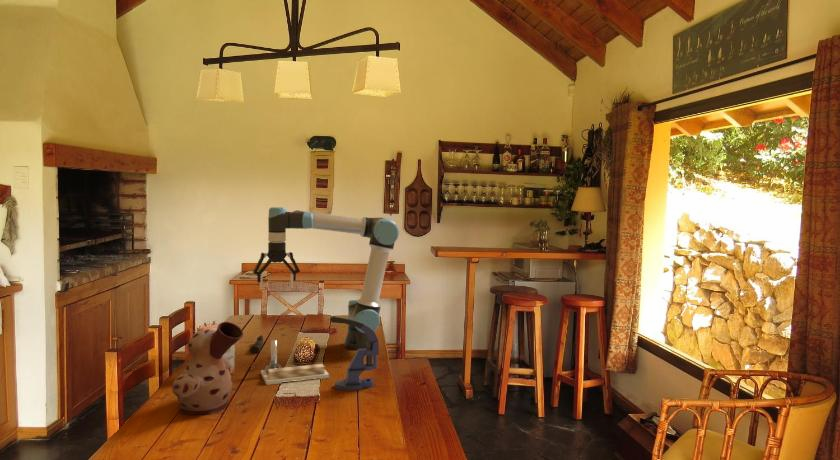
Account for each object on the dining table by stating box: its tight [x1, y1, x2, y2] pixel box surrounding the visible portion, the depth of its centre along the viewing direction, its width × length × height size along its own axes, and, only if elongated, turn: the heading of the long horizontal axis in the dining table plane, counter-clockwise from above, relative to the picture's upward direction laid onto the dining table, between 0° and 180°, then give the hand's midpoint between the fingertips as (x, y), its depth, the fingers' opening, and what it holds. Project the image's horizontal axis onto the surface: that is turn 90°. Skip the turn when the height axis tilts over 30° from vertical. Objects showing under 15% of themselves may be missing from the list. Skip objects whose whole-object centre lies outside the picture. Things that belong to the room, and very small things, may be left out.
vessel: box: [171, 321, 244, 415], centre depth 199 cm, size 29×22×30 cm
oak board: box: [268, 363, 326, 380], centre depth 231 cm, size 22×4×3 cm, turn 114°
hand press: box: [329, 315, 380, 391], centre depth 223 cm, size 19×9×28 cm, turn 103°
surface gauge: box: [264, 339, 283, 375], centre depth 233 cm, size 6×8×13 cm
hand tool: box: [249, 335, 264, 355], centre depth 273 cm, size 19×4×5 cm, turn 3°
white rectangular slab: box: [260, 369, 330, 386], centre depth 234 cm, size 25×14×2 cm, turn 114°
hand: (276, 288), depth 256 cm, fingers open, 13 cm apart
